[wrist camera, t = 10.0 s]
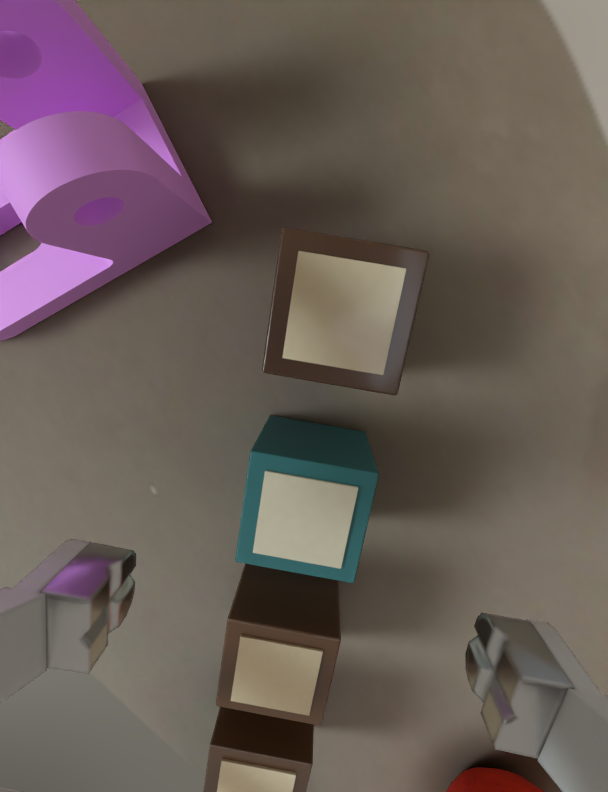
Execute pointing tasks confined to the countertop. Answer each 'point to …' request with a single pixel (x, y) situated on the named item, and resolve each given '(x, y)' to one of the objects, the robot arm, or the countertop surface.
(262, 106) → the countertop surface
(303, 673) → the block
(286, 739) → the block
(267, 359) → the block
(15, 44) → the bracket
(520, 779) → the apple
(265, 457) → the letter block
